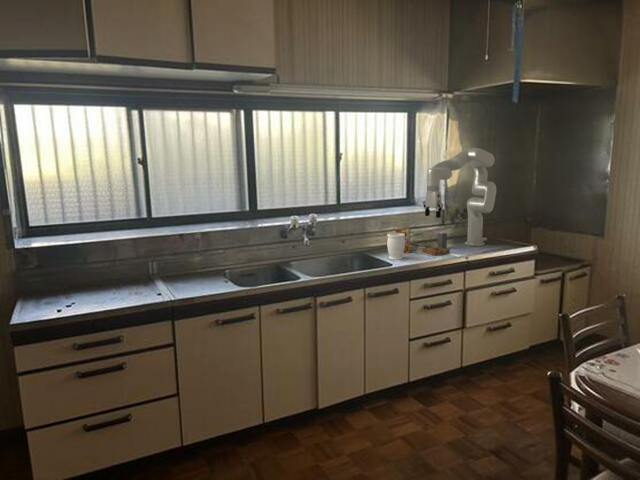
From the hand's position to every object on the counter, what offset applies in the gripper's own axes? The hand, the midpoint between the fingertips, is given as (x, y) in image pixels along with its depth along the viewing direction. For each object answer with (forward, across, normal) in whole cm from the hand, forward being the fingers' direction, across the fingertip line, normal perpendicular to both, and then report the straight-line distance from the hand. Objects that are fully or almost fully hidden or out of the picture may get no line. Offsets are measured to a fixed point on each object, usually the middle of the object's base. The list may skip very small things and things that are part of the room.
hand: (432, 216), depth 299 cm
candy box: (+24, +14, +12) cm, 30 cm away
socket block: (+23, 0, 0) cm, 23 cm away
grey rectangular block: (+22, +4, -12) cm, 26 cm away
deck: (+23, +4, -12) cm, 27 cm away
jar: (+24, +3, +26) cm, 35 cm away
